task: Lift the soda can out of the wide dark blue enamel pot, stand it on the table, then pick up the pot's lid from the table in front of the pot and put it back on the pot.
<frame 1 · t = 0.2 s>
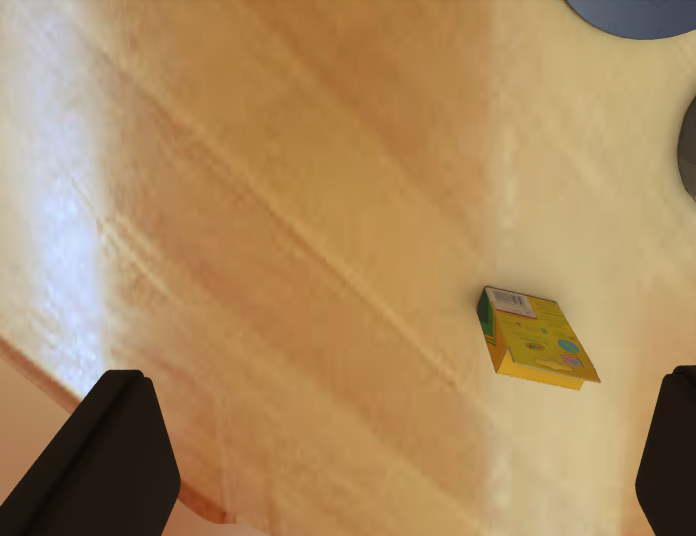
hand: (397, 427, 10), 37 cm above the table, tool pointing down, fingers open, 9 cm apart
crayon box: (515, 305, 50), on the table
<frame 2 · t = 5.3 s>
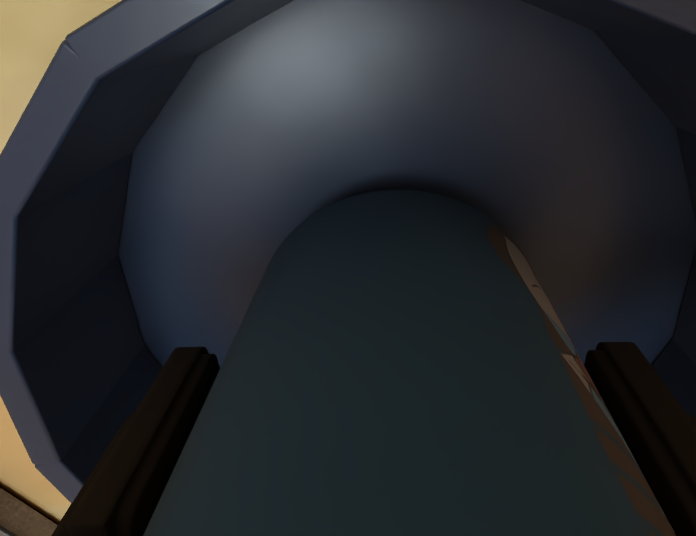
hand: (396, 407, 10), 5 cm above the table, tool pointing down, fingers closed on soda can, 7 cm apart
pot: (394, 288, 14), on the table
soda can: (395, 292, 14), resting on pot, touching gripper
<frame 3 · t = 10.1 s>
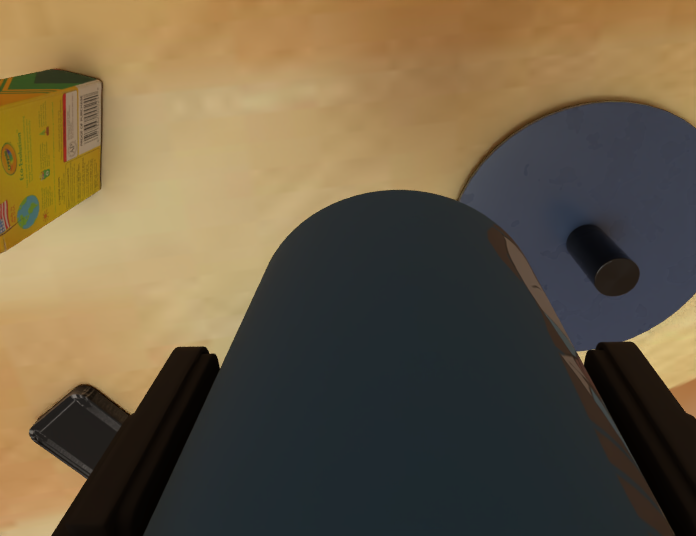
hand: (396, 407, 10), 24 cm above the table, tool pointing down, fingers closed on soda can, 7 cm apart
crayon box: (80, 132, 33), on the table
lid: (583, 239, 33), point 1 cm above the table
phone: (127, 454, 45), on the table
soda can: (395, 292, 14), point 19 cm above the table, touching gripper
when the fingers open (4 cm above the table, at t = 15.0 s): soda can stays where it is, on the table.
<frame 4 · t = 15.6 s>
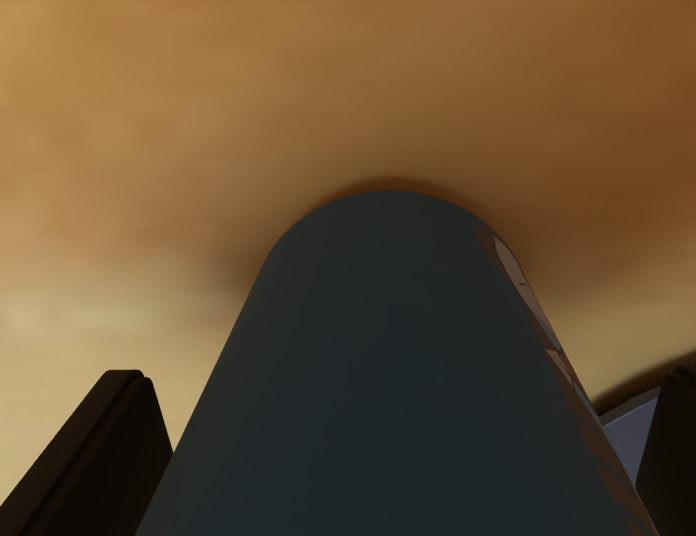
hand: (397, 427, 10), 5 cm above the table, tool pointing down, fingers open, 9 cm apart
soda can: (388, 291, 14), on the table
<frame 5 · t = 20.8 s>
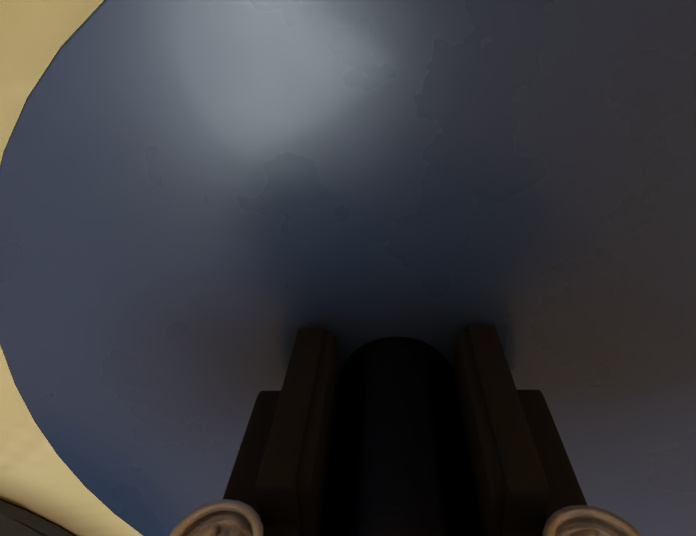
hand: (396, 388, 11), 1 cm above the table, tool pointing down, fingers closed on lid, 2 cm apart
lid: (396, 370, 11), point 1 cm above the table, touching gripper
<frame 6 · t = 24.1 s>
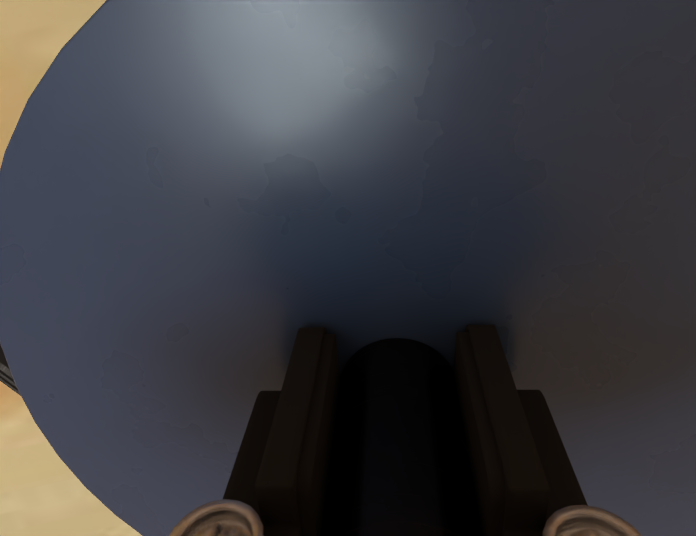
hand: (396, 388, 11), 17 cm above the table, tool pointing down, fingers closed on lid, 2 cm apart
lid: (397, 372, 11), point 17 cm above the table, touching gripper
phone: (36, 332, 33), on the table
when the fingers open (5 cm above the table, at t = 27.3 s): lid stays where it is, resting on pot.
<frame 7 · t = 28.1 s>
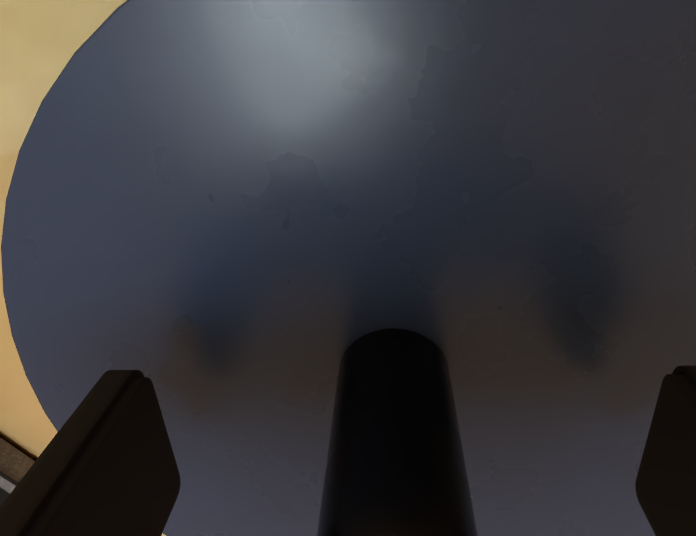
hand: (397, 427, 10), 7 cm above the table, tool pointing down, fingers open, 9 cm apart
lid: (393, 361, 12), point 5 cm above the table, touching pot
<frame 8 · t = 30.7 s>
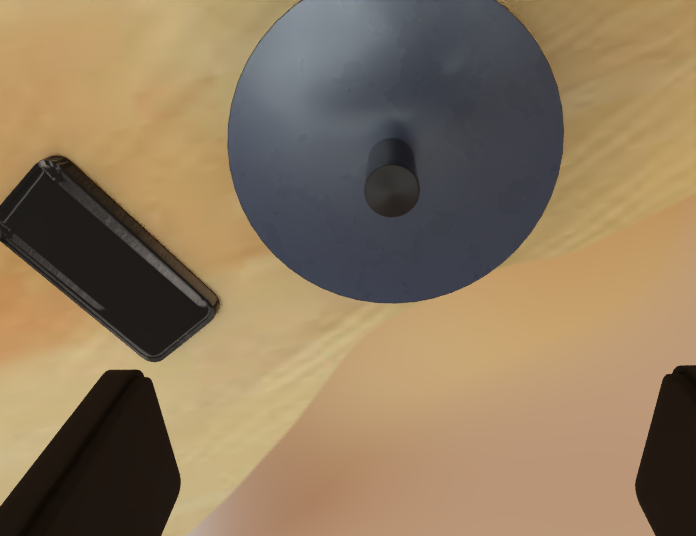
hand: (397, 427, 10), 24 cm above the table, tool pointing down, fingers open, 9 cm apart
lid: (391, 158, 27), point 5 cm above the table, touching pot
phone: (113, 262, 37), on the table
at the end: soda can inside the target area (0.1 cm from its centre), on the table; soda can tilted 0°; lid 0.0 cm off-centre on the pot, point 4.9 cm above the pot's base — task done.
